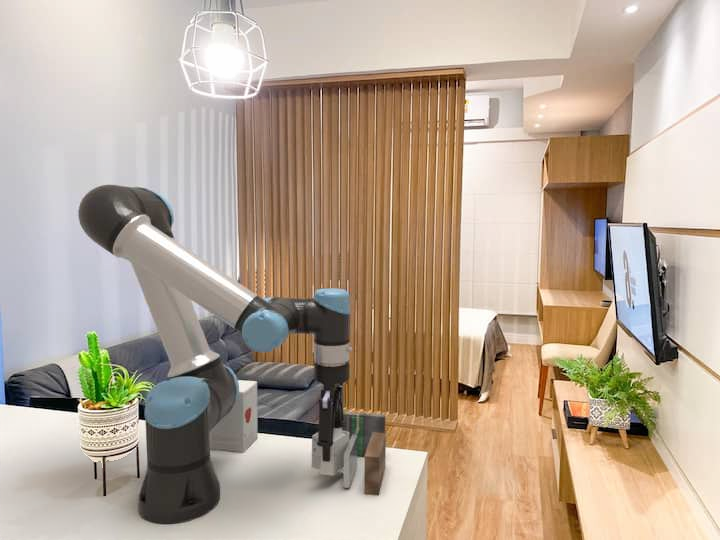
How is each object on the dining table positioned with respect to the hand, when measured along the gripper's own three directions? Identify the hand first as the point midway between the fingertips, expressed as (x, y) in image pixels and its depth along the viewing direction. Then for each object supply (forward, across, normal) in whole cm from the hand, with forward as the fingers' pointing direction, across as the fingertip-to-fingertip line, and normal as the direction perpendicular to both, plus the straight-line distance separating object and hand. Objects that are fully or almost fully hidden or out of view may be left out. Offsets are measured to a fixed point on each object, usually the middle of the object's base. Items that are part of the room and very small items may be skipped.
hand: (331, 464), depth 112 cm
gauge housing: (+3, +3, -4) cm, 6 cm away
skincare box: (+1, 0, 0) cm, 1 cm away
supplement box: (+3, +12, +27) cm, 30 cm away
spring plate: (+2, +2, -4) cm, 5 cm away
